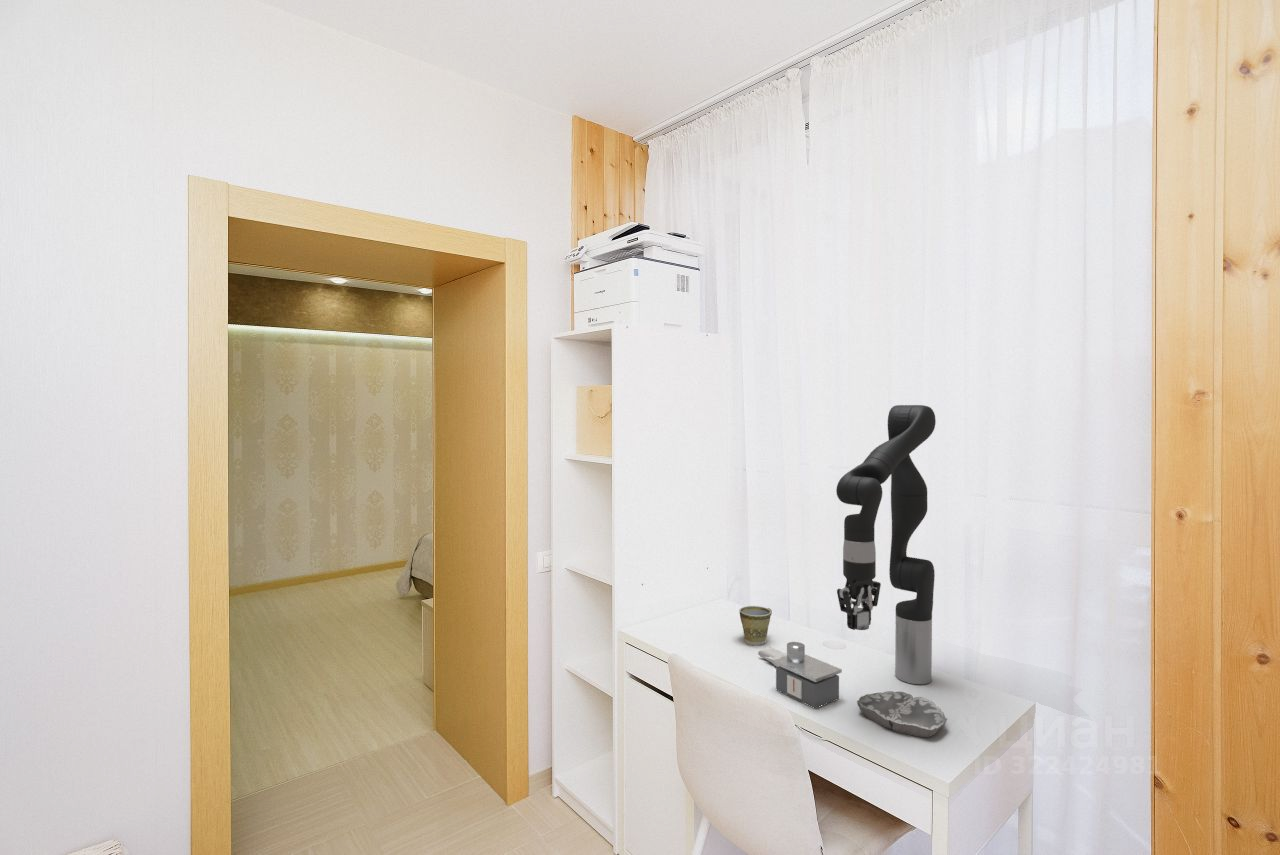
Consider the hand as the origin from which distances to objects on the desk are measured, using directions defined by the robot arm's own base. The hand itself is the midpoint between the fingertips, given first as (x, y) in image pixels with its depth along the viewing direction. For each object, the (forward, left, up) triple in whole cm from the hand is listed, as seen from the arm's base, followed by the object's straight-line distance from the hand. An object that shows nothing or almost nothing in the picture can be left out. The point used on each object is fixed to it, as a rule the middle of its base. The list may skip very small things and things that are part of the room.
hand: (859, 626), depth 153 cm
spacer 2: (0, 0, 0) cm, 0 cm away
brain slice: (+2, +10, -22) cm, 24 cm away
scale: (-7, -12, -21) cm, 25 cm away
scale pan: (-7, -12, -14) cm, 20 cm away
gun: (-24, -17, -22) cm, 36 cm away
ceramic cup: (-43, -24, -21) cm, 54 cm away
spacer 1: (-10, -15, -13) cm, 22 cm away
